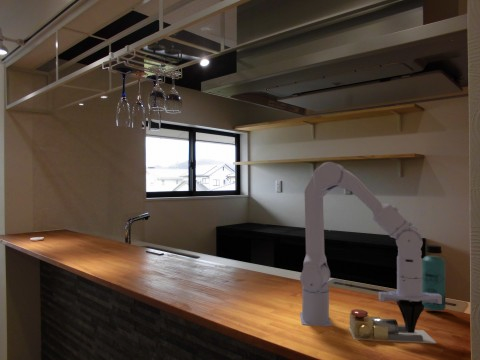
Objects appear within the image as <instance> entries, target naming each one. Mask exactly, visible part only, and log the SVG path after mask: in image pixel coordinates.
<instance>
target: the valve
mask: <svg viewBox="0 0 480 360" xmlns="http://www.w3.org/2000/svg"><path fill="white" fill-rule="evenodd" d="M371 318H380V316H373V315H372V316H370V315H369V312H368V311H367V310H363V309H359V308H358V309H356V308H355V309H352V310H351V311H350V312H349V327H350V330H351V332H352V333H353V335H354V337H355V338H365V339H367V338H372V339H374V340H373V341H375V340H383V341H382V342H389V341H388V327H387V326H373V321H372V319H371ZM380 319H381V318H380ZM350 330H349V331H350ZM351 332H350V333H351Z"/></svg>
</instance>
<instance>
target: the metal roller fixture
mask: <svg viewBox="0 0 480 360" xmlns="http://www.w3.org/2000/svg"><path fill="white" fill-rule="evenodd" d="M347 329H348V330H349V332H350V334H351V336H352V338H353V340H357V341H375V342H376V341H378V342H380V341H381V342H384V341H383V340H374V339H372V338H367V339H365V338H355V337H354V335H353V333H352V332H351V330H350V326H347ZM398 330H399V332H398V334H389V333H388V341H387V342H397V343H398V342H400V343H421V344H437V342H436V341H435V340H434V338H432V337H431V336H430V335H429V334H428V333H427V332H426V331H425V330H423V329H415V331H414V333H409V332H408V331H407V330H406V328H405V324H404V325H402V324H398Z"/></svg>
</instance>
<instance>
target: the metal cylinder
mask: <svg viewBox="0 0 480 360" xmlns="http://www.w3.org/2000/svg"><path fill="white" fill-rule="evenodd" d="M371 319H372V321H373V326H387V327H388V333H389V334H398V332H399V330H398V325H399V323H398V321H397V319H395V318H371Z"/></svg>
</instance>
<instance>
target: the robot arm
mask: <svg viewBox="0 0 480 360" xmlns="http://www.w3.org/2000/svg"><path fill="white" fill-rule="evenodd" d="M335 188H340V189H343V190H348V191H350V192H351V193H352V194H353V195H354V196H356V197H357V199H359V200H360V201H361V202H362V203H363V204H364V205H365V206H366V207H367V208H368V209H369V210H370V211H371V212H372V213H373V214H372V219H373V221H374V222H375V223H376V224H377V225H378V226H380V228H381V229H382V230H383V231H384V232H385V233H386V234H387V235H388V236H389V237H390V238H393V239H395V244H396V246H397V251H398V252H397V256H396V290H393V291H378V300H379V302H382V303H385V302H395V303H396V304H397V306H398V308H399V311H400V312H401V315H402V319H403V322H404V325H405V328H406V330H407V331H408V332H409V333H414V331H415V330H416V325H417V323H418V320H419V318H420V316H421V314H422V313H423V311H424V309H425V308H424V305H423V304H422V302H430V303H438V304H442V296H441V295H440V294H434V293H425V292H422V259H423V258H422V255H423V253H422V250H421V249H422V247H423V244H424V242H423V236H422V234H421V232H420V231H419V230H418V228H417V227H416V226H413V224H414V223H413V222H412V221H407V219H406V218H405V217H404V216H403V215H402V214H401V213H400V212H399V210H400V209H399V208H398V207H397V206H396V205H395V206H392V205H391V204H390V203H382V202H381V201H380V200H379V199H378V198H377V196H376V195H374V193H372V192H371V191H370V189H368V187H367V186H366V185H365V184H364V183H363V182H362V181H361V180H360V179H359V178H358V177H357V176H356V175H355V174H354V173H352V172H351V171H349V170H347V169H346V168H345V167H344V166H343V165H342V164H341V163H340V164H339V163H335V162H333V161H326V162H323V163H322V164H321V165H319V166H318V167H316V168H315V169H314V171H313V174H312V177H311V178H310V179H309V182H308V183H307V185H306V186H305V189H304V219H305V220H304V222H305V223H304V224H305V225H304V227H305V257H304V260H303V266H302V271H301V273H300V276H299V281H300V283H301V286H302V290H301V291H302V294H301V297H302V299H301V300H302V308H301V310H302V311H300V312H299V315H300V316H299V317H300V322H301V325H302V326H315V327H316V326H317V327H333V323H332V321H331V318H330V288H329V286H328V284H327V282H328V281H329V280H330V278H331V271H330V268H329V265H328V262H327V260H328V259H327V256H326V254H325V253H326V252H325V227H324V225H325V224H324V223H325V222H324V221H325V220H324V197H325V196H326V195H327V194H328V193H329V192H330V191H331V190H333V189H335Z"/></svg>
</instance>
